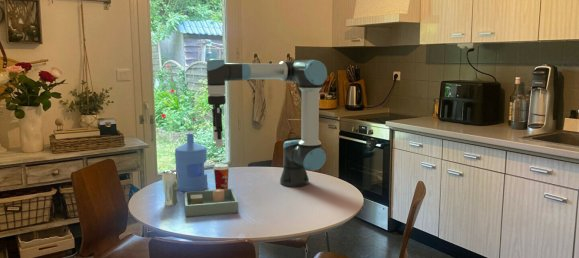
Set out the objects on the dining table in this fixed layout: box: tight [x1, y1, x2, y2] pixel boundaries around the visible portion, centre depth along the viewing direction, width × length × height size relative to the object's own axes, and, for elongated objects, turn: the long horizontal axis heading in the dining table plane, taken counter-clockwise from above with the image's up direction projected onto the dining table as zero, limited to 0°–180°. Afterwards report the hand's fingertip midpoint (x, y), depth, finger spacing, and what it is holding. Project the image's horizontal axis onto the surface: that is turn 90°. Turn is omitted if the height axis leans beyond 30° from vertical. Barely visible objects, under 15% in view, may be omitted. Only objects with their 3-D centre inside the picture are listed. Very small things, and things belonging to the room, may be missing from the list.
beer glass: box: [161, 169, 179, 207], centre depth 202 cm, size 7×7×15 cm
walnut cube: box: [191, 194, 203, 205], centre depth 196 cm, size 5×5×5 cm
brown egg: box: [212, 188, 224, 203], centre depth 198 cm, size 5×5×7 cm
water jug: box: [174, 133, 209, 193], centre depth 226 cm, size 16×16×28 cm
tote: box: [184, 188, 239, 218], centre depth 198 cm, size 22×20×5 cm
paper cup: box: [212, 163, 230, 189], centre depth 218 cm, size 8×8×14 cm
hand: (217, 143), depth 195 cm, fingers open, 13 cm apart
